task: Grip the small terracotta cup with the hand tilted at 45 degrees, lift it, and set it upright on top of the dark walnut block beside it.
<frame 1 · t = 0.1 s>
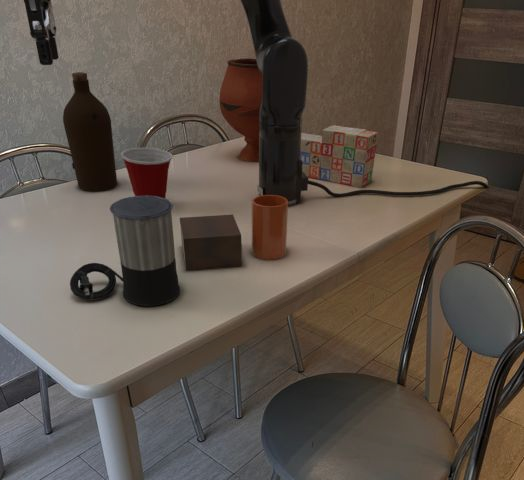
hand: (50, 61, 100), 29 cm above the table, tool pointing down, fingers open, 8 cm apart
stack of blocks: (329, 178, 139), on the table
walnut block: (211, 256, 99), on the table
goblet: (254, 158, 155), on the table
terracotta cup: (268, 252, 101), on the table
milk frother: (127, 294, 87), on the table
olive oil: (98, 186, 132), on the table
plastic cup: (152, 208, 120), on the table
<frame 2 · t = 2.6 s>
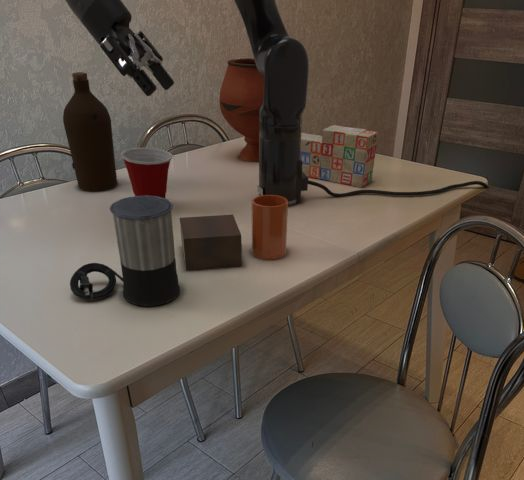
hand: (161, 89, 95), 26 cm above the table, tool tilted 40°, fingers open, 8 cm apart
nothing on the table moved.
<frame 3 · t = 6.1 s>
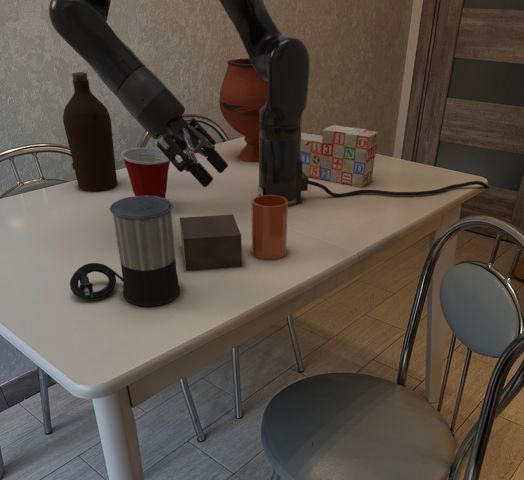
hand: (217, 176, 95), 13 cm above the table, tool tilted 45°, fingers open, 8 cm apart
nothing on the table moved.
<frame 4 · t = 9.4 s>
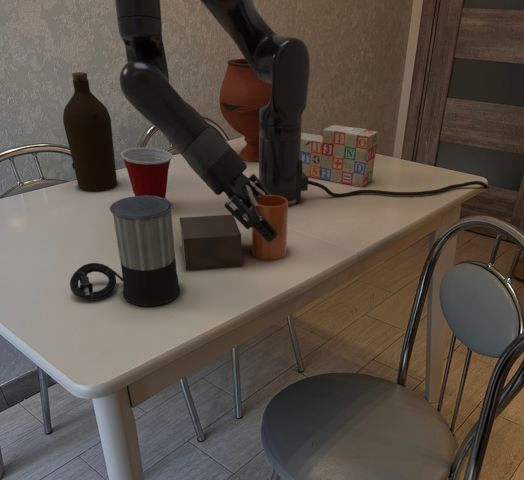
hand: (277, 231, 98), 4 cm above the table, tool tilted 45°, fingers closed on terracotta cup, 6 cm apart
terracotta cup: (269, 252, 101), on the table, touching gripper
everything else where it was.
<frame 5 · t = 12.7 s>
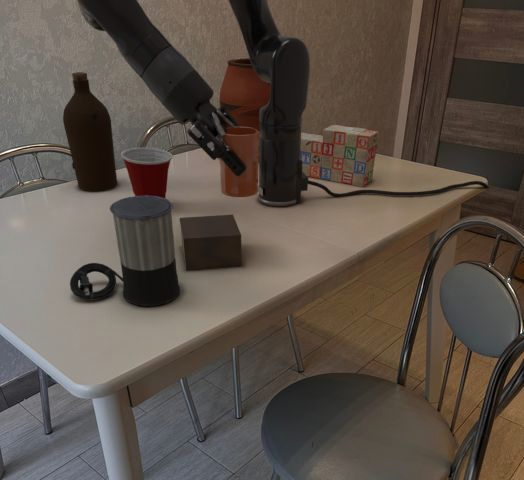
hand: (248, 166, 90), 16 cm above the table, tool tilted 45°, fingers closed on terracotta cup, 6 cm apart
terracotta cup: (239, 191, 93), point 12 cm above the table, touching gripper
everything else where it was.
when the fingers open (10 cm above the table, at t = 15.8 s): terracotta cup stays where it is, resting on walnut block.
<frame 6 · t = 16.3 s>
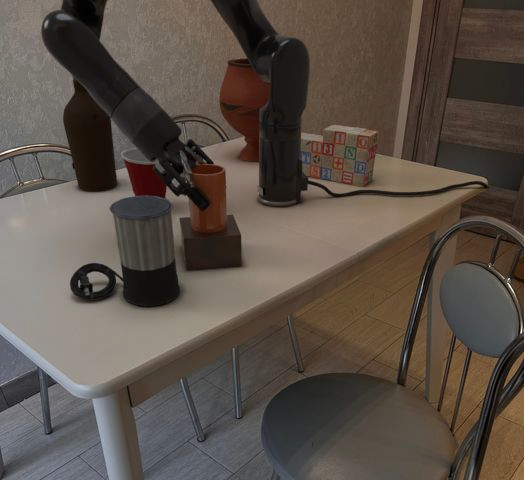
hand: (215, 199, 92), 11 cm above the table, tool tilted 45°, fingers open, 8 cm apart
walnut block: (211, 256, 99), on the table, touching terracotta cup
terracotta cup: (209, 225, 95), point 6 cm above the table, touching walnut block
everything else where it was.
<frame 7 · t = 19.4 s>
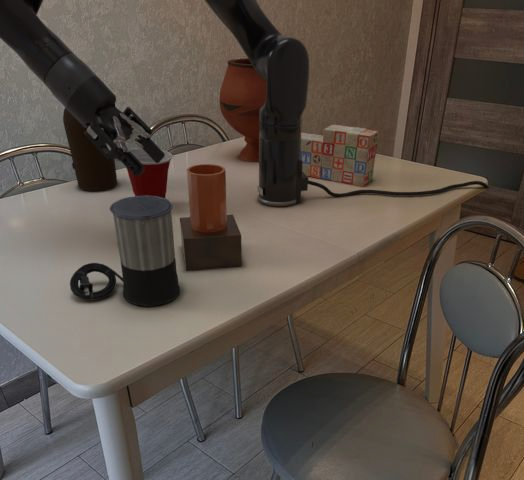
hand: (151, 166, 94), 15 cm above the table, tool tilted 45°, fingers open, 8 cm apart
nothing on the table moved.
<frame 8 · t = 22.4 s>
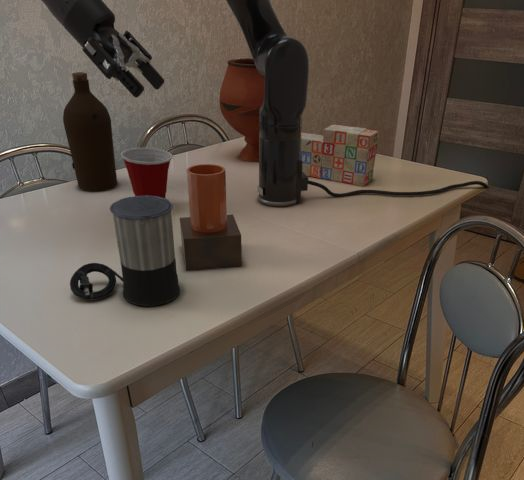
hand: (151, 89, 92), 27 cm above the table, tool tilted 45°, fingers open, 8 cm apart
nothing on the table moved.
at the end: terracotta cup 0.1 cm off-centre on the walnut block, point 6.0 cm above the walnut block's base; terracotta cup tilted 0°; the gripper is holding nothing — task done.
